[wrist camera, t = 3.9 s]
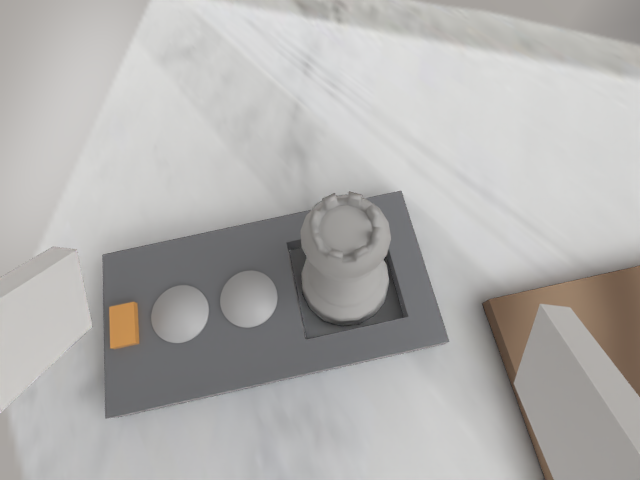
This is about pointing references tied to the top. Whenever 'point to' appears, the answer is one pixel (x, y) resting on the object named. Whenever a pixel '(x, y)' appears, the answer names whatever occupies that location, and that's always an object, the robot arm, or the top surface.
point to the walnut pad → (593, 311)
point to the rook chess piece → (345, 259)
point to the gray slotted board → (242, 313)
